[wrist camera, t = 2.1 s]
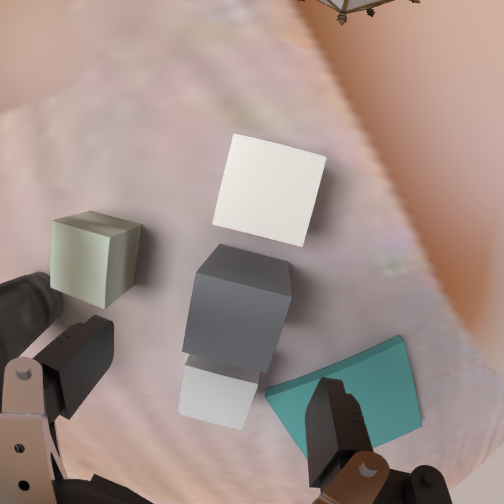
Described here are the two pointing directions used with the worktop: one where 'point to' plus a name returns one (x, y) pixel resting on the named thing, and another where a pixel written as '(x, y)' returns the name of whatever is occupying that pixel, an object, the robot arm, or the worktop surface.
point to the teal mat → (358, 393)
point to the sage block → (94, 257)
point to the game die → (354, 6)
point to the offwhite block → (268, 189)
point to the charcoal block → (238, 308)
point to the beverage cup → (26, 312)
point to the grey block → (217, 392)
